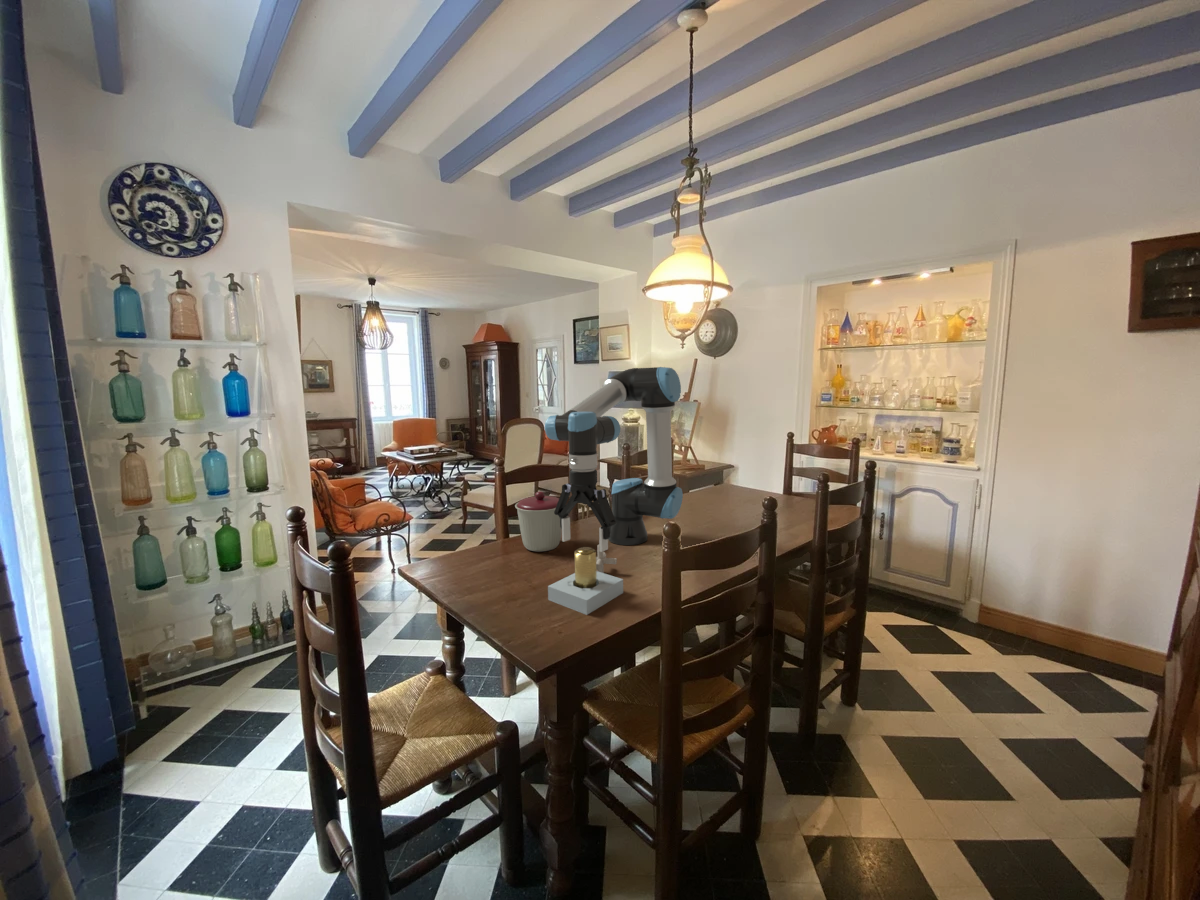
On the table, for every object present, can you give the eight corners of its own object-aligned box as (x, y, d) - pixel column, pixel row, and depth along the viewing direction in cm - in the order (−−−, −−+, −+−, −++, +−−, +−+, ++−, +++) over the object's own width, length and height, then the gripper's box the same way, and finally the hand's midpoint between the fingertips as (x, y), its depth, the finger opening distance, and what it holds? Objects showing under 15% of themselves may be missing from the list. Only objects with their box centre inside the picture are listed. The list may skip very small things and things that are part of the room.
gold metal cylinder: (585, 589, 138) (584, 544, 136) (601, 595, 134) (600, 548, 132) (571, 597, 133) (569, 550, 131) (587, 603, 129) (586, 555, 127)
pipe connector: (613, 583, 144) (613, 551, 142) (581, 581, 146) (580, 550, 144) (619, 570, 153) (618, 540, 152) (588, 568, 155) (588, 539, 154)
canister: (532, 560, 163) (529, 500, 160) (508, 545, 178) (505, 490, 175) (575, 548, 174) (574, 492, 171) (550, 535, 188) (548, 483, 185)
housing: (585, 583, 144) (585, 567, 143) (623, 595, 136) (623, 579, 135) (548, 603, 132) (547, 586, 131) (586, 618, 123) (586, 600, 122)
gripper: (540, 466, 133) (542, 539, 136) (611, 476, 117) (612, 559, 120) (559, 462, 139) (560, 533, 142) (629, 472, 123) (629, 550, 126)
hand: (584, 545), depth 131 cm, fingers open, 13 cm apart
